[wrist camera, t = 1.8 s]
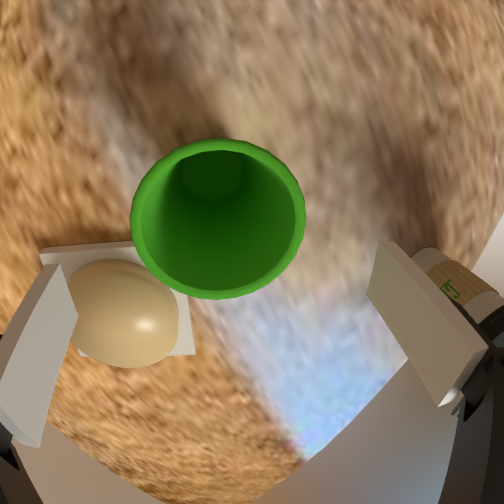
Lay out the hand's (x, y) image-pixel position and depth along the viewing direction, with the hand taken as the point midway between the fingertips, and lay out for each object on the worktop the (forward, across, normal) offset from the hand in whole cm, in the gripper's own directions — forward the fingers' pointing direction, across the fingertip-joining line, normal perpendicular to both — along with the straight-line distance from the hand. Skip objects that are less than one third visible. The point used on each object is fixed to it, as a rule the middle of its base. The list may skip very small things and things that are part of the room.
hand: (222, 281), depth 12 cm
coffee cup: (+15, +24, -12) cm, 31 cm away
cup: (+15, 0, 0) cm, 15 cm away
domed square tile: (+15, -10, -13) cm, 22 cm away
